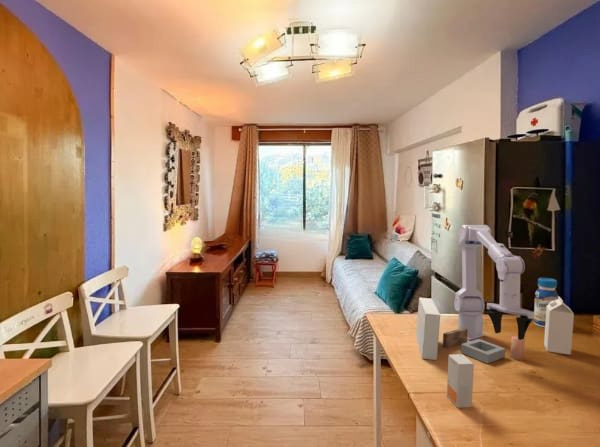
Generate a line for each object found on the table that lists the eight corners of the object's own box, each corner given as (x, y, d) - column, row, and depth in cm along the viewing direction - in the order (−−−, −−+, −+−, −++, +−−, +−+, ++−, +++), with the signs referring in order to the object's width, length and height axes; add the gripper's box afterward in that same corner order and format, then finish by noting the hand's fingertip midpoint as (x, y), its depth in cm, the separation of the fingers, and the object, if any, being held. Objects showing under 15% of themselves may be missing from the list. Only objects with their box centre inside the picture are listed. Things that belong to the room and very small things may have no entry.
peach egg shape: (514, 354, 133) (515, 335, 132) (526, 358, 130) (527, 338, 129) (507, 356, 131) (509, 337, 130) (519, 361, 128) (520, 341, 127)
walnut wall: (463, 340, 145) (464, 327, 145) (466, 341, 144) (467, 328, 144) (442, 346, 139) (443, 333, 139) (446, 348, 138) (446, 334, 137)
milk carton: (566, 348, 139) (570, 297, 138) (571, 355, 133) (574, 302, 131) (543, 344, 142) (547, 294, 141) (547, 351, 136) (550, 299, 134)
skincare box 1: (438, 361, 127) (440, 314, 126) (421, 359, 128) (423, 313, 127) (430, 337, 148) (432, 297, 147) (415, 336, 149) (417, 296, 148)
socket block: (478, 346, 139) (478, 338, 139) (504, 357, 130) (505, 348, 130) (460, 352, 134) (461, 344, 133) (487, 363, 125) (487, 354, 125)
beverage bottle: (556, 324, 165) (559, 278, 163) (556, 329, 158) (559, 282, 156) (533, 320, 169) (536, 276, 168) (532, 325, 162) (535, 279, 160)
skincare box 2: (445, 395, 105) (447, 354, 104) (460, 395, 106) (462, 353, 105) (456, 408, 99) (458, 364, 98) (472, 407, 100) (474, 363, 99)
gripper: (481, 291, 127) (480, 331, 127) (525, 299, 114) (525, 344, 114) (494, 289, 130) (493, 328, 130) (538, 297, 118) (537, 340, 118)
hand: (509, 335), depth 123 cm, fingers open, 7 cm apart
